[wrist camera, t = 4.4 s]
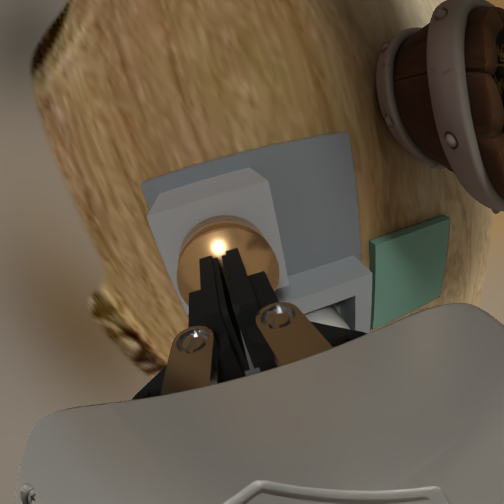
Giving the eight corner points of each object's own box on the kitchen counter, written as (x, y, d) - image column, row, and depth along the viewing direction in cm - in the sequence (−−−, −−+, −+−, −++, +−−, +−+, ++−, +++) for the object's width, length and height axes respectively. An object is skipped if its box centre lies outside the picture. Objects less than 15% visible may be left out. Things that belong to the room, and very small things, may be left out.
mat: (369, 240, 23) (375, 245, 22) (443, 215, 23) (450, 218, 22) (368, 324, 27) (372, 329, 26) (434, 292, 28) (439, 296, 27)
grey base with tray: (143, 181, 17) (121, 204, 12) (342, 131, 18) (392, 137, 13) (224, 376, 26) (232, 424, 21) (356, 332, 27) (383, 370, 22)
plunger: (173, 205, 16) (161, 248, 11) (242, 185, 17) (268, 216, 11) (194, 266, 18) (196, 330, 13) (258, 248, 19) (286, 304, 13)
